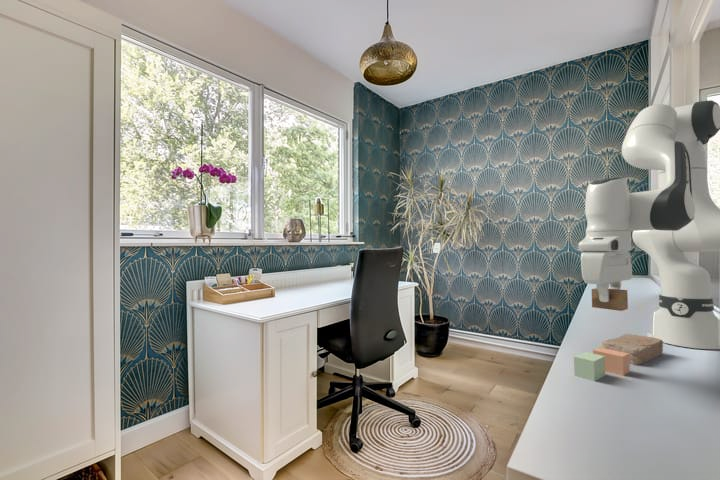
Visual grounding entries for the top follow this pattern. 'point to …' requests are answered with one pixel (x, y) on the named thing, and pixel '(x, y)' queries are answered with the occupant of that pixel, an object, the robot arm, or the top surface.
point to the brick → (636, 347)
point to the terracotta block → (614, 361)
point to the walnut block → (616, 303)
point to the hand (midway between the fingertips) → (609, 300)
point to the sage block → (589, 366)
